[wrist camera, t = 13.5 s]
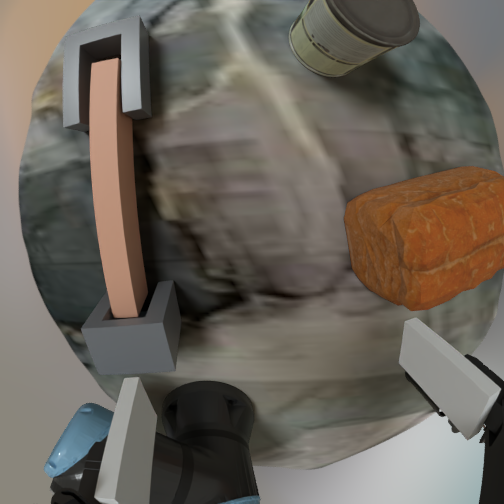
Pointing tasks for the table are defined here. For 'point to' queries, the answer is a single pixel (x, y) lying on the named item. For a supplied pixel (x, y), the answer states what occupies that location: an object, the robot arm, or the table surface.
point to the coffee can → (350, 32)
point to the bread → (428, 236)
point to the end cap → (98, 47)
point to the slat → (115, 191)
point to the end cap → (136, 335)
